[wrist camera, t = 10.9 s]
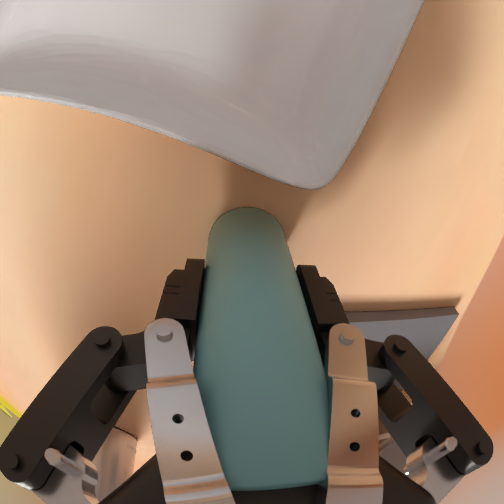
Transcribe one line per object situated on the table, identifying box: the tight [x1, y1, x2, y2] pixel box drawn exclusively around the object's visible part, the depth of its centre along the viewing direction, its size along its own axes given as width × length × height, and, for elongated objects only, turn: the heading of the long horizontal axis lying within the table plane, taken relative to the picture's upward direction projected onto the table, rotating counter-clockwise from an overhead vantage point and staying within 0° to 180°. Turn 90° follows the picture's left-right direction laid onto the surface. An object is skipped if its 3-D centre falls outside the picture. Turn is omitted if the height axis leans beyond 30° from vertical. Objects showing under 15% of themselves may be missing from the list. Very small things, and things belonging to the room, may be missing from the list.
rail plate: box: [345, 307, 459, 391], centre depth 23 cm, size 13×20×1 cm, turn 174°
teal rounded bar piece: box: [193, 207, 328, 491], centre depth 10 cm, size 4×4×12 cm
